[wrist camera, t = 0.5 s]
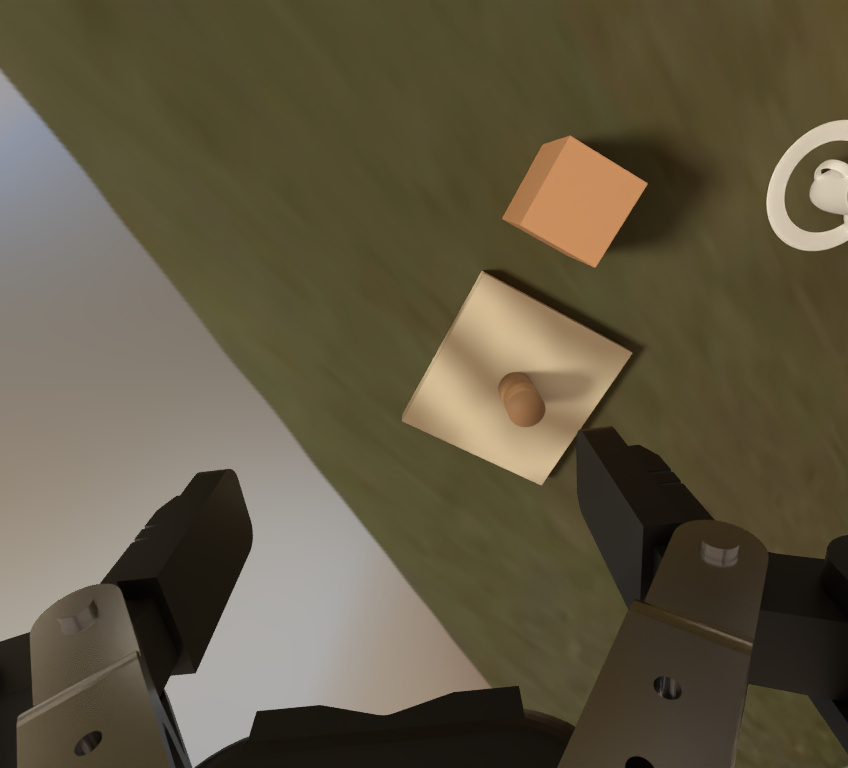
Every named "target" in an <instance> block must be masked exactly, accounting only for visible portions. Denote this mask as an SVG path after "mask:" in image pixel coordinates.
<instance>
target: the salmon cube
mask: <svg viewBox="0 0 848 768" xmlns="http://www.w3.org/2000/svg"><path fill="white" fill-rule="evenodd" d="M647 184H648V183H646V182H645V181H643V180H641V179H640V178H638V177H636V176H635V175H633V174H632V173H630V172H628V171H627V170H625V169H623V168H622V167H620V166H619V165H617V164H615V163H614V162H612V161H610V160H609V159H607V158H606V157H604V156H602V155H601V154H599V153H597V152H596V151H594V150H593V149H591V148H589V147H588V146H586V145H584V144H583V143H581V142H580V141H578V140H576V139H575V138H573V137H571V136H567V137H564V138H561V139H558V140H555V141H552V142H549V143H546V144H543V145H542V147H541V148H540V150H539V152H538V154H537V156H536V158H535V159H534V161H533V163H532V165H531V167H530V169H529V170H528V172H527V174H526V176H525V178H524V179H523V181H522V183H521V185H520V187H519V189H518V190H517V192H516V194H515V196H514V198H513V200H512V201H511V203H510V205H509V207H508V209H507V211H506V212H505V214H504V216H503V218H502V219H503V220H505V221H506V222H508V223H510V224H512V225H514V226H515V227H517V228H519V229H521V230H522V231H524V232H526V233H528V234H529V235H531V236H533V237H535V238H537V239H538V240H540V241H542V242H544V243H545V244H547V245H549V246H551V247H553V248H554V249H556V250H558V251H560V252H561V253H563V254H565V255H567V256H569V257H572V258H574V259H576V260H579V261H581V262H583V263H585V264H588V265H590V266H592V267H596V266H597V264H598V263H599V261H600V259H601V258H602V256H603V255H604V253H605V251H606V250H607V248H608V247H609V245H610V243H611V242H612V240H613V239H614V237H615V235H616V234H617V232H618V231H619V229H620V227H621V226H622V224H623V223H624V221H625V219H626V218H627V216H628V215H629V213H630V211H631V210H632V208H633V207H634V205H635V204H636V202H637V200H638V199H639V197H640V196H641V194H642V192H643V191H644V189H645V188H646V186H647Z"/></svg>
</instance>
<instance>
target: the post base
mask: <svg viewBox="0 0 848 768" xmlns="http://www.w3.org/2000/svg"><path fill="white" fill-rule="evenodd" d="M631 355H632V352H631V351H629V350H628V349H627V348H625V347H623V346H621V345H620V344H618V343H616V342H614V341H612V340H610V339H608V338H607V337H605V336H603V335H601V334H599V333H597V332H595V331H594V330H592V329H590V328H588V327H586V326H584V325H582V324H581V323H579V322H577V321H575V320H573V319H571V318H569V317H568V316H566V315H564V314H562V313H560V312H558V311H556V310H555V309H553V308H551V307H549V306H547V305H545V304H543V303H541V302H540V301H538V300H536V299H534V298H532V297H530V296H528V295H527V294H525V293H523V292H521V291H519V290H517V289H515V288H514V287H512V286H510V285H508V284H506V283H504V282H502V281H501V280H499V279H497V278H495V277H493V276H491V275H489V274H488V273H486V272H484V271H481V273H480V275H479V277H478V279H477V280H476V282H475V284H474V286H473V288H472V290H471V291H470V293H469V295H468V297H467V299H466V300H465V302H464V304H463V306H462V308H461V309H460V311H459V313H458V315H457V317H456V318H455V320H454V322H453V324H452V326H451V328H450V329H449V331H448V333H447V335H446V337H445V338H444V340H443V342H442V344H441V346H440V347H439V349H438V351H437V353H436V355H435V357H434V358H433V360H432V362H431V364H430V366H429V367H428V369H427V371H426V373H425V375H424V376H423V378H422V380H421V382H420V384H419V385H418V387H417V389H416V391H415V393H414V395H413V396H412V398H411V400H410V402H409V404H408V405H407V407H406V409H405V411H404V413H403V414H402V421H403V422H405V423H407V424H409V425H411V426H414V427H416V428H418V429H420V430H422V431H424V432H427V433H429V434H431V435H433V436H435V437H437V438H440V439H442V440H444V441H446V442H448V443H450V444H453V445H455V446H457V447H459V448H461V449H463V450H466V451H468V452H470V453H472V454H474V455H477V456H479V457H481V458H483V459H485V460H487V461H490V462H492V463H494V464H496V465H498V466H500V467H503V468H505V469H507V470H509V471H511V472H513V473H516V474H518V475H520V476H522V477H524V478H526V479H529V480H531V481H533V482H535V483H537V484H539V485H542V484H543V482H544V481H545V479H546V478H547V477H548V475H549V474H550V472H551V471H552V469H553V468H554V466H555V465H556V464H557V462H558V461H559V459H560V458H561V456H562V455H563V453H564V452H565V450H566V449H567V448H568V446H569V445H570V443H571V442H572V440H573V439H574V437H575V436H576V435H577V432H578V430H580V429H581V427H582V426H583V424H584V423H585V421H586V420H587V419H588V417H589V416H590V414H591V413H592V411H593V410H594V408H595V407H596V405H597V404H598V403H599V401H600V400H601V398H602V397H603V395H604V394H605V392H606V391H607V390H608V388H609V387H610V385H611V384H612V382H613V381H614V379H615V378H616V376H617V375H618V374H619V372H620V371H621V369H622V368H623V366H624V365H625V363H626V362H627V361H628V359H629V358H630V356H631Z"/></svg>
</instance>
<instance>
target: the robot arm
mask: <svg viewBox="0 0 848 768" xmlns="http://www.w3.org/2000/svg"><path fill="white" fill-rule="evenodd" d="M576 455H577V494H578V501H579V505H580V509H581V512H582V515H583V517H584V519H585V521H586V523H587V525H588V527H589V530H590V532H591V534H592V536H593V538H594V540H595V542H596V544H597V546H598V548H599V550H600V552H601V554H602V556H603V558H604V560H605V562H606V564H607V567H608V569H609V571H610V573H611V575H612V577H613V579H614V581H615V583H616V585H617V587H618V589H619V591H620V593H621V595H622V597H623V599H624V602H625V604H626V606H627V608H628V611H627V614H626V616H625V618H624V620H623V623H622V625H621V627H620V629H619V631H618V634H617V636H616V638H615V640H614V643H613V645H612V647H611V649H610V651H609V654H608V656H607V658H606V660H605V663H604V665H603V667H602V669H601V671H600V674H599V676H598V678H597V680H596V683H595V685H594V687H593V689H592V691H591V694H590V696H589V698H588V700H587V703H586V705H585V707H584V709H583V711H582V714H581V716H580V718H579V720H578V723H577V725H576V727H575V726H573V725H571V724H570V723H568V722H565V721H563V720H561V719H558V718H556V717H554V716H551V715H548V714H544V713H541V712H537V711H533V710H527V709H523V705H522V700H521V695H520V690H519V686H513V687H503V688H493V689H482V690H472V691H462V692H453V693H450V694H447V695H445V696H442V697H439V698H436V699H433V700H430V701H427V702H425V703H422V704H419V705H416V706H413V707H411V708H408V709H405V710H402V711H399V712H396V713H393V714H390V715H375V714H369V713H363V712H357V711H351V710H346V709H340V708H334V707H328V706H321V705H317V706H307V707H296V708H287V709H276V710H266V711H257V712H256V716H255V719H254V722H253V726H252V729H251V732H250V736H249V737H247V738H244V739H242V740H239V741H237V742H235V743H233V744H231V745H229V746H227V747H225V748H223V749H222V750H220V751H218V752H217V753H215V754H214V755H211V756H210V757H208V758H207V759H206V760H204V761H203V762H202V763H200V764H199V765H197V766H196V767H195V768H734V763H735V757H736V752H737V746H738V740H739V735H740V729H741V724H742V718H743V712H744V707H745V701H746V695H747V690H748V684H752V685H758V686H763V687H768V688H773V689H778V690H784V691H789V692H794V693H799V694H805V695H808V696H809V698H810V699H811V701H812V702H813V704H814V705H815V707H816V708H817V710H818V711H819V713H820V714H821V716H822V717H823V718H824V720H825V721H826V723H827V724H828V726H829V727H830V729H831V730H832V732H833V733H834V735H835V736H836V738H837V739H838V740H839V742H840V743H841V745H842V746H843V748H844V749H845V751H846V752H847V754H848V535H846V536H841V537H838V538H836V539H834V540H832V541H831V542H830V543H829V545H828V547H827V552H826V556H825V559H817V558H809V557H800V556H791V555H782V554H776V553H771V552H767V549H766V548H765V546H764V544H763V543H762V542H761V541H760V540H759V539H758V538H757V537H755V536H754V535H753V534H751V533H750V532H748V531H746V530H744V529H742V528H740V527H738V526H735V525H733V524H729V523H726V522H721V521H715V520H714V519H713V518H712V516H711V515H710V514H709V513H708V512H707V511H706V510H705V508H704V507H703V506H702V505H701V504H700V503H699V501H698V500H697V499H696V498H695V497H694V496H693V494H692V493H691V492H690V491H689V490H688V489H687V488H686V486H685V485H684V484H681V481H680V479H679V478H678V477H677V476H676V475H675V474H674V472H671V469H670V468H669V467H668V465H667V464H666V463H665V462H664V461H663V460H662V459H661V457H660V456H659V455H657V454H655V453H653V452H652V451H650V450H648V449H646V448H644V447H642V446H641V445H633V446H628V445H627V444H626V443H625V442H624V440H623V439H622V438H621V436H620V435H619V434H618V433H617V431H616V430H615V429H614V428H613V427H612V426H609V427H600V428H592V429H583V430H578V432H577V437H576ZM252 532H253V531H252V524H251V520H250V517H249V514H248V510H247V507H246V504H245V501H244V497H243V494H242V490H241V487H240V484H239V480H238V478H237V475H236V473H235V472H234V471H233V470H232V469H225V470H216V471H207V472H199V473H197V474H196V475H195V476H194V478H193V479H192V480H191V482H190V483H189V484H188V486H187V487H186V488H185V490H184V491H183V492H182V494H181V495H180V496H176V497H174V498H173V499H172V500H171V501H169V502H168V503H166V504H165V505H164V506H162V507H161V508H160V509H159V510H157V511H156V512H155V514H154V515H153V517H152V518H151V519H150V520H149V522H148V523H147V524H146V525H145V529H142V530H141V532H140V533H139V534H138V535H137V537H136V538H135V542H133V543H132V544H130V546H129V547H128V548H127V550H126V551H125V552H124V554H123V555H122V556H121V557H120V559H119V560H118V562H116V564H115V565H114V566H113V568H112V569H111V570H110V572H109V573H108V574H107V575H106V577H105V578H104V579H103V580H102V582H101V583H100V584H96V585H92V586H88V587H85V588H82V589H79V590H77V591H75V592H73V593H71V594H69V595H67V596H65V597H63V598H62V599H60V600H58V601H57V602H56V603H54V604H53V605H51V606H50V607H49V608H48V609H47V610H46V611H44V613H43V614H41V616H40V617H39V618H38V619H37V620H36V622H35V623H34V625H33V627H32V629H31V632H29V633H26V634H23V635H20V636H17V637H13V638H10V639H7V640H4V641H1V642H0V768H192V765H191V762H190V759H189V757H188V754H187V751H186V748H185V745H184V742H183V739H182V736H181V733H180V730H179V727H178V724H177V721H176V718H175V715H174V712H173V709H172V706H171V703H170V700H169V698H168V695H167V693H166V691H165V689H164V687H165V685H166V683H167V681H168V679H169V677H170V676H171V675H182V674H192V673H196V671H197V669H198V667H199V665H200V662H201V660H202V658H203V656H204V653H205V651H206V649H207V646H208V644H209V642H210V640H211V638H212V635H213V633H214V631H215V629H216V626H217V624H218V622H219V620H220V617H221V615H222V613H223V610H224V608H225V606H226V604H227V602H228V600H229V597H230V595H231V593H232V591H233V588H234V586H235V584H236V582H237V579H238V577H239V575H240V573H241V570H242V568H243V566H244V564H245V561H246V559H247V557H248V555H249V552H250V550H251V546H252V540H253V533H252Z"/></svg>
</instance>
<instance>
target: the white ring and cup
mask: <svg viewBox="0 0 848 768" xmlns="http://www.w3.org/2000/svg"><path fill="white" fill-rule="evenodd" d="M835 140H846V141H848V120H838V121H832V122H829V123H826V124H823V125H820V126H818V127H816V128H814V129H812V130H811V131H809V132H807V133H806V134H804V135H803V136H802V137H801V138H799V139H798V140H797V141H796V142H795V143H794V144H793V145H792V146H791V147H790V148H789V149H788V150H787V151H786V153H785V154H784V155H783V157H782V158H781V160H780V161H779V163H778V165H777V166H776V168H775V170H774V172H773V175H772V177H771V180H770V183H769V187H768V192H767V214H768V218H769V222H770V224H771V226H772V228H773V230H774V232H775V233H776V235H777V236H778V237H779V238H780V239H781V240H782V241H783V242H785V243H786V244H788V245H790V246H791V247H794V248H796V249H800V250H805V251H819V250H825V249H829V248H833V247H835V246H838V245H840V244H842V243H844V242H846V241H848V164H846V163H844V162H842V161H839V160H828V161H825V162H823V163H822V164H821V165H820V166H819V167H818V168H817V169H816V171H815V174H814V179H815V181H814V182H813V184H812V186H811V189H810V199H811V201H812V203H813V204H814V205H815V206H816V207H818V208H819V209H822V210H824V211H827V212H831V213H836V214H842V215H844V224H843V225H841V226H839V227H837V228H835V229H833V230H830V231H826V232H820V233H812V232H807V231H804V230H802V229H800V228H798V227H797V226H795V225H794V224H793V223H792V222H791V220H790V219H789V217H788V215H787V213H786V209H785V204H784V194H785V188H786V184H787V181H788V179H789V176H790V174H791V172H792V171H793V169H794V168H795V166H796V165H797V163H798V162H799V161H800V160H801V159H802V158H803V157H804V156H805V155H806V154H807V153H808V152H810V151H811V150H812V149H814V148H816V147H817V146H819V145H821V144H824V143H826V142H830V141H835ZM825 168H828V169H831V170H829V171H826V172H825V173H823V174H822V173H821V170H822V169H825Z"/></svg>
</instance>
